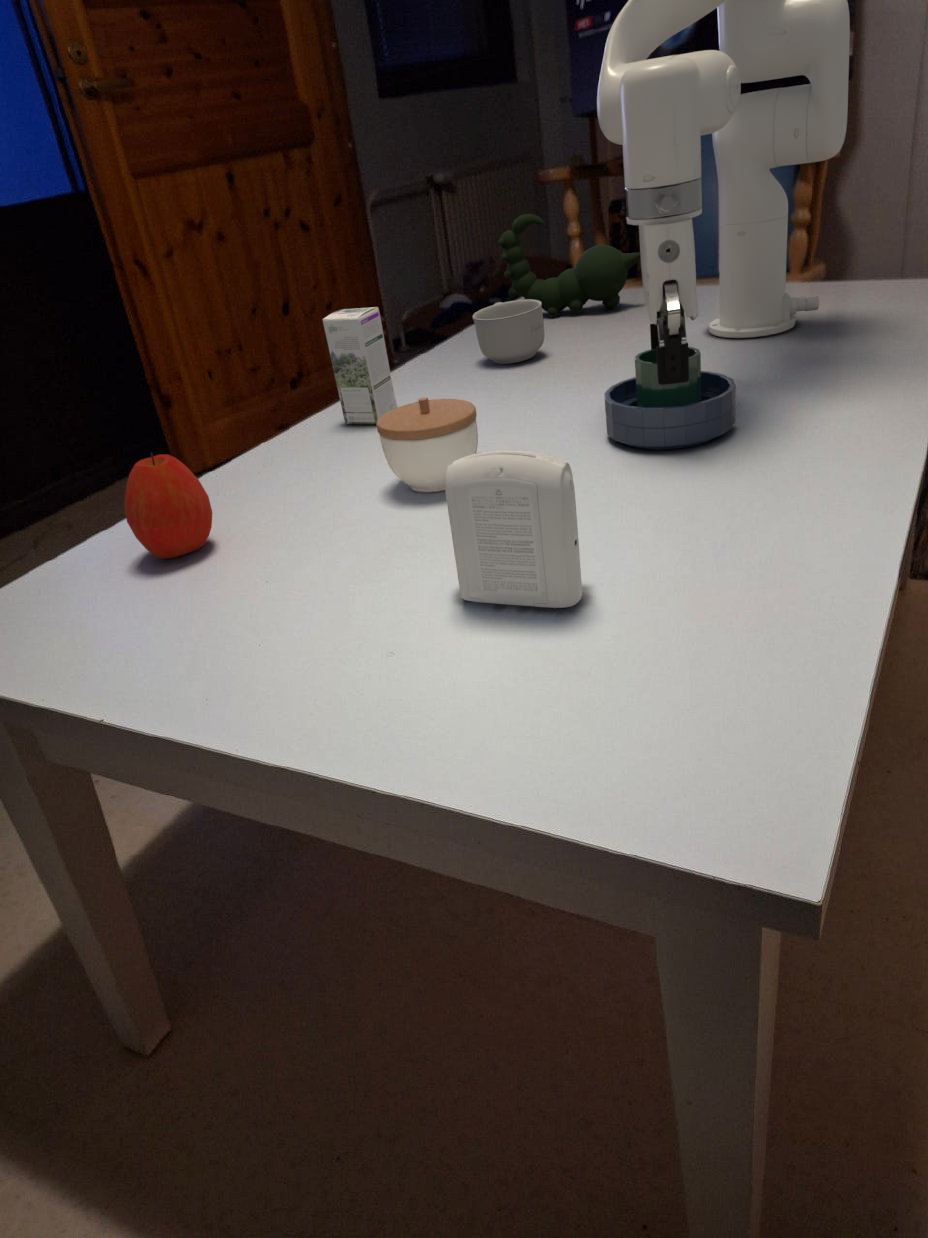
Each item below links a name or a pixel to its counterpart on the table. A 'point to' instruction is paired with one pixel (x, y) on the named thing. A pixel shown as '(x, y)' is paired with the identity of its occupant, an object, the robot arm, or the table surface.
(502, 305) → the teacup
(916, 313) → the table surface
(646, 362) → the green cup
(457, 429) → the trinket box
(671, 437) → the blue bowl
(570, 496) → the photo printer
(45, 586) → the table surface
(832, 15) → the robot arm
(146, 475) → the apple
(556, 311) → the toy figurine
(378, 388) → the syrup box
